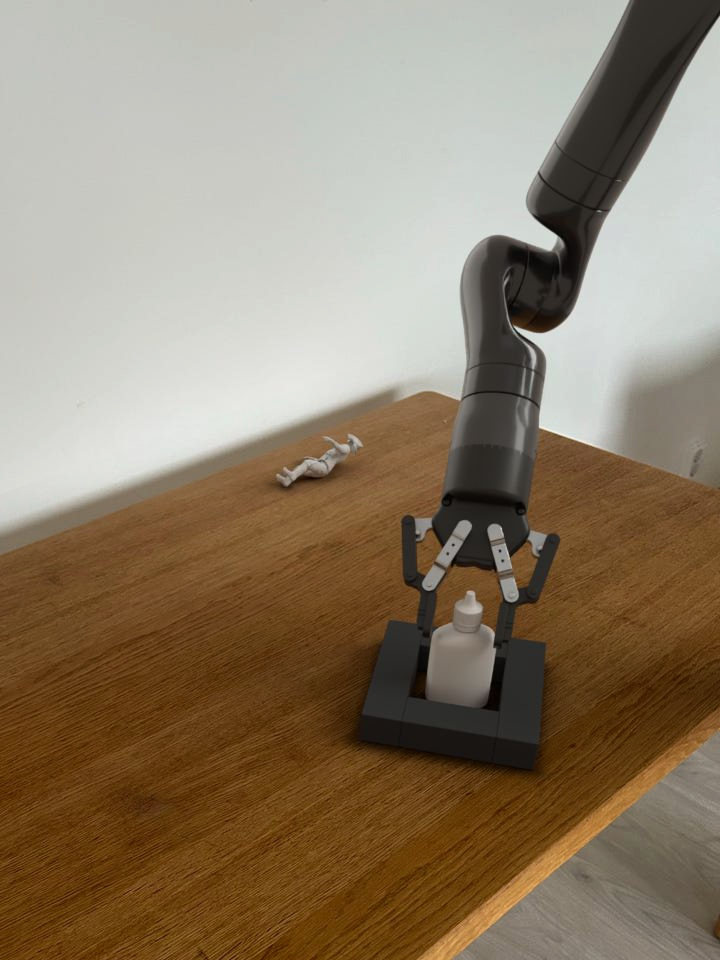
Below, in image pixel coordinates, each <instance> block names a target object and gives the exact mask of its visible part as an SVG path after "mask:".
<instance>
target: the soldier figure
mask: <svg viewBox="0 0 720 960" xmlns="http://www.w3.org/2000/svg"><path fill="white" fill-rule="evenodd" d="M322 438H323V440H324V443H330V444H331V446H332V447H333V448H331V449H328V450H327V451H325V453H324V454H323V455H322V456H321V457H320V458H318V457H317V458H316V457H312V456H304V457H302V460H303V462H302V463H301V464H299V465H297V466H296V467H295V468H294V469H293V470H292V471H291V470H289V469H287V467H286V466H284V467H282V470H283V471H282V472H283V474H284V475H285V477H284V476H282V475H281V474H280V473H276V474H275V477H276V479H277V481H278V482H279V483H280V484H282V485H283V487H286V488H288V486H289V485H290V484H291V483H292V482H294V481H296V480H297V478H298V477H300V476H306V477H312V478H322V477H326V476H327V475H328V474H329V473H330V472H331V471H332V470H333V468H334V467H335V466H336V465H337V464H339V463H341V462H343V461H345V460H347V457H348V456H349V454H350V452H351V453H352V454H354V455H357V454H358V453H359V451H360V449H364V446H363V443H362V441H361V440H360V439H359V438H357V436H355V435H353V434H350V433H347V438H348V440H346V442H347V444H345V443H340V444H339V442H337V441H335V440H334V439H333V438H331V437H328V436H322Z"/></svg>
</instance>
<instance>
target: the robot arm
mask: <svg viewBox="0 0 720 960" xmlns="http://www.w3.org/2000/svg"><path fill="white" fill-rule="evenodd" d="M719 19H720V0H628V2H627V4H626V7H625V9H624V11H623V13H622V15H621V17H620V20H619V21H618V23H617V26H616V28H615V30H614V31H613V34H612V36H611V38H610V39H609V41H608V43H607V45H606V47H605V49H604V51H603V52H602V54H601V56H600V58H599V60H598V62H597V64H596V65H595V68H594V69H593V71H592V73H591V74H590V77H589V78H588V80H587V81H586V83H585V85H584V87H583V89H582V91H581V92H580V94H579V96H578V98H577V100H576V102H575V103H574V105H573V107H572V108H571V110H570V112H569V113H568V115H567V117H566V119H565V120H564V123H563V124H562V126H561V128H560V129H559V131H558V134H557V135H556V137H555V139H554V141H553V142H552V144H551V146H550V148H549V150H548V152H546V153H547V154H546V155H545V158H544V159H543V160H542V163H541V165H540V166H539V169H538V170H537V172H536V174H535V176H534V178H533V179H532V181H531V183H530V185H529V187H528V190H527V192H526V195H525V208H526V209H527V211H528V213H529V215H530V216H531V217H532V218H533V219H534V220H535V221H536V222H537V223H539V224H540V225H541V226H542V227H544V228H545V229H547V230H548V231H549V232H551V233H553V234H554V235H556V241H555V243H554V245H553V247H552V248H551V250H549V249H547V248H543V247H540V246H537V245H535V244H532V243H528V242H525V241H522V240H520V239H517V238H514V237H512V236H508V235H505V234H492V235H489V236H487V237H484V238H483V239H481V240H480V241H479V242H477V244H476V245H475V246H474V247H473V248H471V251H470V252H469V253H468V254H467V257H466V259H465V261H464V263H463V267H462V270H461V274H460V280H459V305H460V312H461V313H460V314H461V319H462V328H463V336H464V348H465V360H466V364H465V371H464V376H463V382H462V389H461V394H460V401H459V406H458V411H457V414H456V417H455V420H454V423H453V427H452V432H451V438H450V443H449V446H448V447H449V448H448V456H447V460H446V468H445V474H444V479H443V486H442V490H441V496H440V497H441V498H440V503H439V507H438V508H437V510H436V512H434V514H433V515H432V517H420V518H415V517H414V516H413V515H411V514H406V515H404V516H402V518H401V521H400V522H401V559H402V577H403V582H404V584H405V586H407V587H410V588H412V589H414V590H416V591H418V592H419V594H420V597H419V601H418V608H417V615H416V620H415V621H416V624H417V627H418V630H422V631H423V632H422V636H423V637H424V638H431V634H432V628H433V626H434V622H435V616H436V609H437V603H438V593H437V592H438V591H439V589H440V588H441V586H442V585H443V583H444V581H445V580H446V579H447V577H449V575H450V574H451V572H452V571H453V569H454V567H457V568H474V567H475V568H477V569H478V570H482V571H487V572H493V573H494V577H495V580H496V583H497V586H498V589H499V590H498V591H499V593H500V597H501V602H499V606H498V611H497V612H498V613H497V619H496V625H495V631H494V634H495V637H494V643H493V648H496V649H501V647H502V643H508V642H509V641H510V639H511V637H512V636H513V631H514V624H515V618H516V611H517V609H518V608H519V607H520V606H523V605H528V604H529V605H535V604H537V603H538V602H539V600H540V598H541V595H542V593H543V590H544V586H545V584H546V581H547V579H548V576H549V574H550V571H551V568H552V565H553V562H554V560H555V556H556V554H557V551H558V549H559V547H560V546H559V545H560V543H561V537H560V535H559V534H557V533H556V532H552V533H549V534H546V533H543V532H539V531H536V530H533V529H531V526H530V524H529V521H528V511H529V510H528V509H529V503H530V498H531V497H530V496H531V490H532V484H533V479H534V478H533V477H534V469H535V465H536V462H537V461H536V460H537V457H538V445H539V438H540V413H541V406H542V400H543V393H544V387H545V380H546V374H547V358H546V357H547V356H546V354H545V353H544V351H543V349H542V348H541V347H540V346H538V345H537V344H536V343H535V342H533V341H532V340H530V339H529V338H528V337H526V336H524V335H523V334H521V333H520V332H519V331H518V329H520V330H522V331H526V332H529V333H533V334H546V333H548V332H551V331H553V330H555V329H557V328H558V327H560V326H561V325H563V323H564V322H565V321H566V320H568V318H569V317H570V315H571V314H572V312H573V311H574V309H575V307H576V305H577V302H578V299H579V297H580V295H581V289H582V286H583V283H584V279H585V276H586V272H587V269H588V266H589V263H590V260H591V256H592V254H593V252H594V248H595V246H596V243H597V241H598V238H599V235H600V233H601V230H602V228H603V226H604V223H605V222H606V219H607V218H608V216H609V214H610V213H611V211H612V209H613V207H614V206H615V204H616V203H617V201H618V199H619V198H620V196H621V195H622V194H623V192H624V190H625V189H626V186H627V185H628V183H629V182H630V180H631V178H632V177H633V175H634V174H635V171H636V170H637V169H638V167H639V165H640V163H641V161H642V160H643V158H644V156H645V155H646V152H647V151H648V149H649V147H650V145H651V143H652V141H653V140H654V137H655V136H656V134H657V132H658V129H659V128H660V125H661V123H662V122H663V120H664V117H665V115H666V114H667V111H668V109H669V107H670V105H671V103H672V100H673V99H674V97H675V95H676V92H677V90H678V88H679V86H680V84H681V82H682V80H683V78H684V76H685V74H686V73H687V70H688V69H689V66H690V65H691V63H692V61H693V60H694V58H695V56H696V54H697V53H698V51H699V50H700V48H701V46H702V44H703V43H704V41H705V40H706V38H707V37H708V35H709V34H710V32H711V30H712V29H713V27H714V26H715V24H716V23H717V21H718V20H719ZM517 328H518V329H517ZM431 531H432V532H433V534H434V536H435V538H436V540H437V541H438V544H439V546H440V547H441V550H440V552H439V554H438V555H437V557H436V559H435V560H434V562H433V564H432V566H431V568H430V570H428V572H427V574H426V575H425V574H423V573H422V572H419V571H418V544H422V543H424V542H425V540H426V536H427V534H428V533H429V532H431ZM526 543H528V544H529V545H530V547H531V551H530V554H531V557H532V558H534V559H536V560H537V561H536V564H535V567H534V568H533V569H534V570H533V572H532V575H531V577H530V580H529V583H528V586H523V587H519V588H518V587H517V583H516V579H515V576H514V570H513V565H512V561H511V558H512V557H513V556H514V555H515V554H516V553H517V552H518V551H519V550H520V549H521V548H522V547H523V546H524V545H525V544H526ZM512 638H513V637H512Z"/></svg>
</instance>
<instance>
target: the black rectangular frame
mask: <svg viewBox="0 0 720 960" xmlns="http://www.w3.org/2000/svg"><path fill="white" fill-rule="evenodd" d="M439 627H440V626H436V625H433V628H432V634H431V638H424V637H423V636H422V632H423V631H422V630H418V627H417V622H416V623H415V622H409V621H401V620H395V619H388V622H387V626H386V629H385V633H384V636H383V639H382V643H381V646H380V649H379V651H378V652H379V653H378V656H377V660H376V663H375V666H374V670H373V673H372V675H371V680H370V683H369V687H368V690H367V694H366V696H365V699H364V704H363V707H362V711H361V713H360V728H359V741H364V742H369V743H375V744H381V745H386V746H387V745H388V746H392V747H398V748H404V749H409V750H414V751H421V752H426V753H433V754H438V755H443V756H450V757H456V758H460V759H466V760H473V761H478V762H485V763H489V764H495V765H500V766H507V767H513V768H518V769H523V770H528V771H534V770H535V764H536V761H537V755H538V750H539V746H540V735H541V720H542V706H543V693H544V679H545V666H546V654H547V653H546V652H547V649H546V648H547V642H544V641H539V640H531V639H530V640H529V639H524V638H518V637H511V639H510V641H509V642H508V643H502V647H501V649H496V653H495V660H494V666H493V672H492V678H491V683H492V682H493V683H499V684H501V685H500V695H499V700H498V701H499V702H498V709H497V710H490V709H485V708H473V707H467V706H461V705H455V704H449V703H443V702H437V701H430V700H426V699H423V698H419V697H412V693H413V688H414V684H415V680H416V676H417V672H418V671H423V672H427V671H428V663H429V655H430V647H431V640H432V635H433V632H434V631H435V630H436V629H438V628H439Z"/></svg>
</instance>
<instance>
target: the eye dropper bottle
mask: <svg viewBox="0 0 720 960" xmlns="http://www.w3.org/2000/svg"><path fill="white" fill-rule="evenodd" d="M483 612H484V606H483V605H482V603H481V602H479V601H478V600H476V592H475V591H474V590H467V591H466V593H465V596H464V598H462V599H459V600H457V601H456V602H455V603H454V607H453V616H452V622H449V623H446V624H444V625H441V626H438V627H439V628H438V629H436V630H435V631H434V632H433V635H432V640H431V647H430V655H429V663H428V671H426V679H425V687H424V688H425V689H424V696H425V700H430V701H437V702H443V703H449V704H455V705H461V706H467V707H473V708H479V709H483V708H484V707H485V706H486V705H487V704H488V701H489V696H490V690H491V685H492V684H491V683H492V681H491V678H492V672H493V666H494V660H495V653H496V648H493V643H494V637H495V631H494V630H493V629H492V628H491V627H490V626H487V625H486V624H483V623H482V618H483Z"/></svg>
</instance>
